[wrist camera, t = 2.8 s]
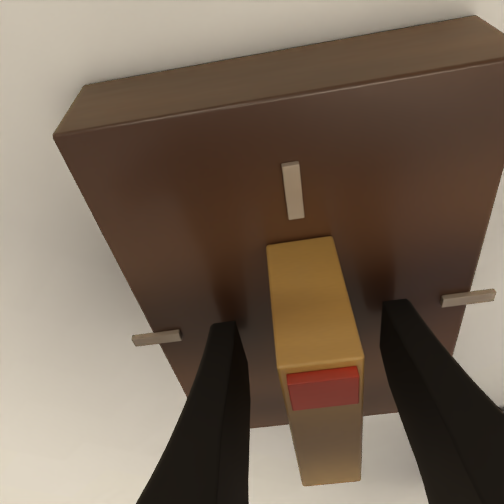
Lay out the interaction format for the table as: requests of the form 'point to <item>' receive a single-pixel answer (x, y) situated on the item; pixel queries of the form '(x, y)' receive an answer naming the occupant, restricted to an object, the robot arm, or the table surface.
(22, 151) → the table surface
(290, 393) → the thumb turn
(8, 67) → the table surface
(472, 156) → the plate
